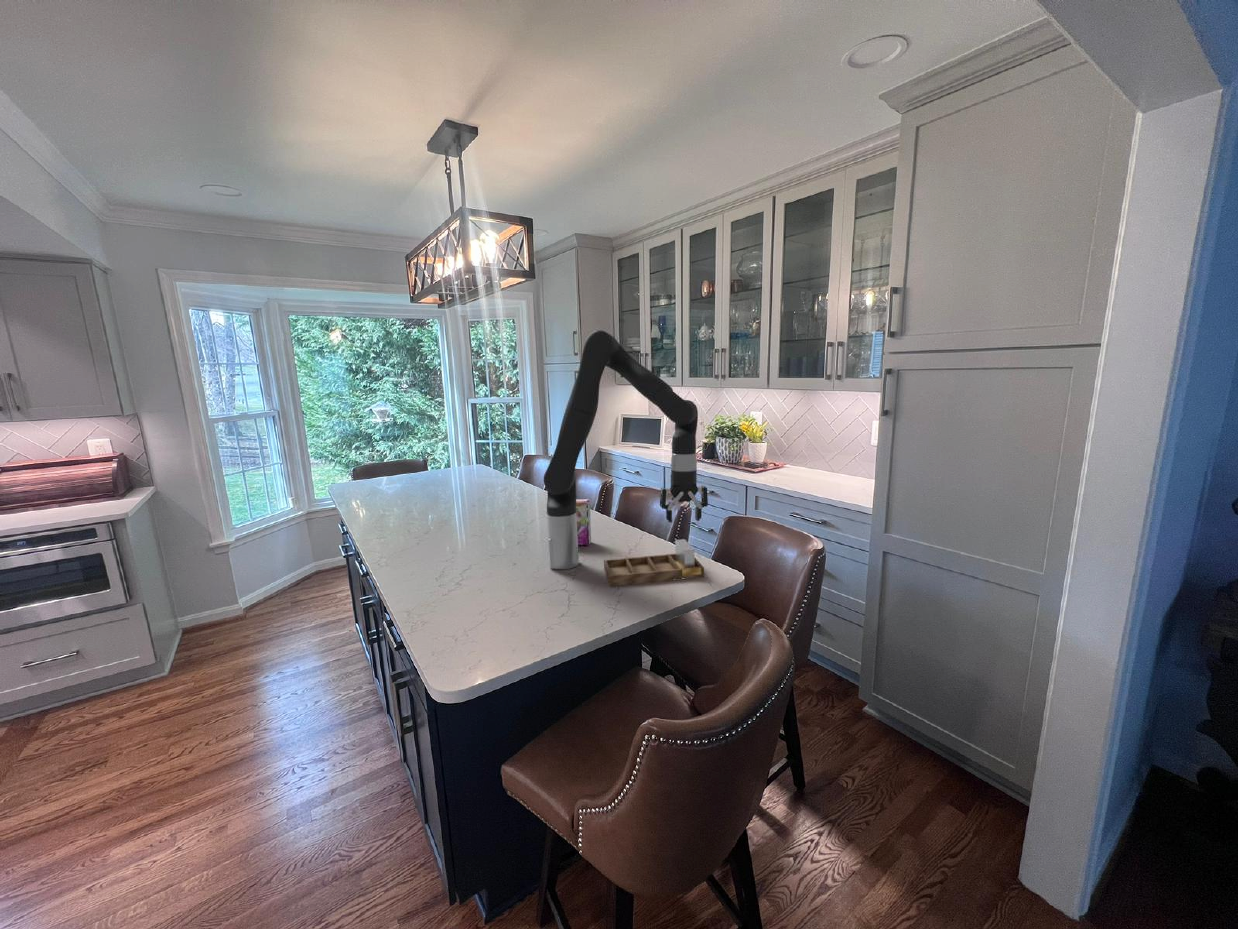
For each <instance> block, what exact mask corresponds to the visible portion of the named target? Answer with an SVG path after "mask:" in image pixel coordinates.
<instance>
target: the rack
mask: <svg viewBox="0 0 1238 929" xmlns="http://www.w3.org/2000/svg"><path fill="white" fill-rule="evenodd" d="M603 570H604V573H605V575H606V579H607V581H608V584H609V587H616V586H617V587H618V586H627V585H637V584H638V583H639V584H647V583H646V582H650V583H658V582H657V581H660V582H666V581H665V580H670V581H675V580H674V579H680V580H683V579H682V578H690V579H698V578H700V577H701V578H704V577H705V567H704V566H703V565H702V564H701V563H700V561H699V560H698V559H697V558H696V557H695V556H694V567H693V568H682V569H681V567H680V566H679V565H678V563H677V562H676V553H670V554H669V553H667V554H657V555H646V556H635V557H625V558H623V557H622V558H613V559H611V558H610V559H604V560H603ZM639 584H638V585H639Z"/></svg>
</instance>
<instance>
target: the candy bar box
mask: <svg viewBox="0 0 1238 929" xmlns="http://www.w3.org/2000/svg"><path fill="white" fill-rule="evenodd" d="M590 502H591V499H589V498H587V499H585V498H584V499H580V498H578V499H577V498H576V519H577V538H578V547H583V546H582V545H587V546H586V547H589V546H590V545H591V543H592V526H591V524H592V523H591V503H590ZM589 544H590V545H589ZM579 545H581V546H579ZM588 545H589V546H588Z"/></svg>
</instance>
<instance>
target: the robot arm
mask: <svg viewBox="0 0 1238 929" xmlns="http://www.w3.org/2000/svg"><path fill="white" fill-rule="evenodd" d="M582 348H583V349H582V353H581V359H580V362H579V367H578V372H577V374H576V378H575V381H574V384H573V387H572V390H571V392H570V396H569V399H568V401H567V404H566V406H565V407H566V408H565V411H564V413H563V416H562V420H561V421H562V422H561V425H560V429H559V433H558V437H557V442H556V447H555V449H554V452H553V454H552V457H551V459H550V462H549V464H548V467H547V469H546V470H545V472H544V475H543V485H544V487H545V489H546V491H547V493H546V494H547V502H546V516H547V531H548V552H549V554H548V555H549V567H550V569H553V570H554V569H555V570H568V569H569V570H571V569H573V568H575V567H577V566H578V565H579V564H580V562H579V561H580V560H579V559H580V558H579V546H578V538H577V519H576V499H577V485H576V484H577V483H576V482H577V481H576V473H575V470H576V466H577V462H578V458H579V456H580V453H581V451H582V449H583V447H584V445H585V443H586V440H587V439H588V438H589V437H588V436H589V434H590V432H591V430H592V427H593V424H594V421H595V418H596V414H597V413H598V406H599V400H600V399H599V397H600V384H601V380H602V376H603V373H604V371H605V369H606V367H607V368H610V369H611V370H612V371H615V372H616V373H617V374H618V375H620V376H622V377H623V379H625V380H626V381H628V383H629V384H630V385H631V386H632V387H633V388H634V389H635V390H636V391H637V392H638V393H639V394H641V395H642V396H643V397H645V399H647V400H648V401H649V402H651V403H652V404H653V405H655V406H656V407H657V408H658V409H659V410H660V411H661V412H662V413H663V414H664V415H665V416H666V417H667V418H668V420H670V421H672V422H673V423H674V433H673V435H672V439H671V458H670V459H671V460H670V462H671V463H670V469H671V470H670V471H671V472H670V475H671V476H670V478H671V480H670V484H671V485H670V488H665V487H660V491H659V492H660V493H659V495H660V497H659V507H660V508H662V509H664V510H665V519H666V521H667V522H668V523H672V522H673V508H674V506H676V505H677V504H678V502H679V503H684V502H686V503H689V502H692V503H693V504H694V505H695V506H696V507H695V508H694V511H695V512H694V515H695V516H694V519H695V521H696V522H699V521H700V520H701V519H702V509H703V508H705V507H708V505H709V498H708V496H709V495H708V488H707V487H706V486H705V485H701V486H698V485H697V483H698V482H697V481H698V480H697V479H698V478H697V477H698V476H697V474H698V470H697V468H698V467H697V465H698V460H697V437H696V436H697V430H698V420H699V418H698V416H699V412H698V411H699V410H698V407H697V405H696V404H695V402H693V401H692V400H689V399H684V398H683V397H681V396H680V395H679V394H677V393H676V392H675V391H674V389H673V388H672V386H671V385H670V384H668V383H667V382H666V381H664V380H663V379H662V378H661V377H659V376H658V375H656V374H655V373H654V372H652V371H651V370H650V369H648V368H647V367H646V366H643V365H642V364H641V363H639V362H638V361H637V360H636V359H635V358H634V357H633V356H632V355H630V354H629V353H628V351H627V350H626V349H625V348H624V347H623V346H622V345H621V344H620V343H619V342H618V340H617V339H616V338H615V336H614V335H612V334H610V333H608V332H607V331H605V330H602V329H601V330H600V329H599V330H594V331H592V332H591V333H590V334H589V335H588V336H587V337H586V339H585V342H584V344H583V347H582ZM698 492H699V493H700V494H701V496H700V499H701V501H699V500H698V498H697V497H696V495H697V493H698ZM669 493H670V494H671V495H672V496H671V497H670V498H669V501H668V502H667V496H668V495H669Z"/></svg>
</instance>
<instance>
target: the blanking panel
mask: <svg viewBox="0 0 1238 929" xmlns="http://www.w3.org/2000/svg"><path fill="white" fill-rule="evenodd" d="M674 546H675V554H676V562H677V563H678V565H679V566H680V567H681V569H682V568H693V567H694V557H695V549H694V548H693V546H692V545H691V544H690V543H689V542H688V541H687V540H686V539H685V538H682V539H675V541H674Z"/></svg>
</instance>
